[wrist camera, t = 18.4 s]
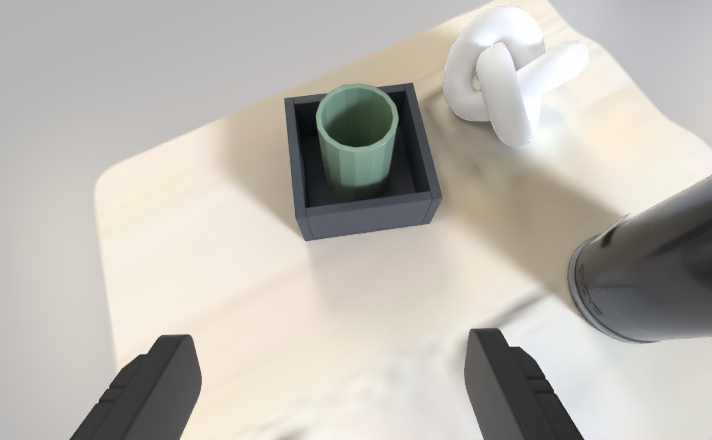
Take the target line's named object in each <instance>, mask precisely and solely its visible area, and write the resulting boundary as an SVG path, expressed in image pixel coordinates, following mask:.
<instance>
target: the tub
mask: <svg viewBox="0 0 712 440" xmlns="http://www.w3.org/2000/svg"><path fill="white" fill-rule="evenodd" d="M376 88H378V89H379V90H381V91H383V92H384V93H386V94H387V95H388V96H389V97H390V99H391V100H392V101H393V102H394V104H395V105H396V109H397V113H398V117H399V120H398V126H397V132H396V138H395V144H394V150H393V156H392V162H391V168H390V174H389V178H388V182H387V185H386V187H385V189H384V191H383V192H382V193H381V194H380V195H379V196H378V197H376V198H375V199H368V200H361V201H354V202H346V201H344V200H341V199H340V198H338V197H337V196H335V195H334V194H333V193H332V191H331V190H330V188H329V186H328V184H327V181H326V176H325V170H324V164H323V158H322V152H321V147H320V141H319V135H318V129H317V121H316V113H317V110H318V107H319V104H320V102H321V101H322V100H323V99H324V98H325V97H326V96H327V95H328V94H329V93H326V94H318V95H310V96H301V97H294V98H293V97H292V98H285V99H284V101H285V111H286V122H287V132H288V142H289V153H290V163H291V174H292V184H293V195H294V205H295V216H296V220H297V222H298V225H299V227H300V230H301V232H302V234H303V237H304V239H305V241H309V240H316V239H323V238H330V237H337V236H345V235H352V234H359V233H366V232H373V231H380V230H387V229H394V228H401V227H408V226H415V225H422V224H429V223H430V222H431V220H432V218H433V216H434V214H435V212H436V210H437V208H438V206H439V204H440V202H441V200H442V195H441V191H440V187H439V183H438V179H437V176H436V172H435V168H434V164H433V160H432V156H431V152H430V148H429V144H428V141H427V137H426V133H425V129H424V125H423V121H422V117H421V113H420V109H419V106H418V102H417V98H416V94H415V90H414V86H413V83H407V84H400V85H392V86H383V87H376Z"/></svg>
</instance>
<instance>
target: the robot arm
mask: <svg viewBox="0 0 712 440" xmlns="http://www.w3.org/2000/svg"><path fill="white" fill-rule="evenodd" d="M629 214H630V213H629ZM627 215H628V214H627ZM627 215H625V216H623V217H622V218H620V219H619V220H618V221H617V222H615V223H614V224H613V225H612V226H611V227H609V228H608V229H607V230H606V231H605V232H603V233H602V234H599V235H596V236H594V237H592V238H590V239H589V240H587V241H585V242H584V243H583V244H581V245H580V246H579V247H578V248H577V249H576V251H575V252H574V254H573V256H572V258H571V260H570V263H569V268H568V283H569V288H570V291H571V294H572V297H573V299H574V301H575V303H576V305H577V307H578V308H579V310H580V311H581V313H582V314H583V315H584V316H585V318H586V319H587V320H588V321H589V322H590V323H591V324H592V325H594V326H595V327H596V328H597V329H599V330H600V331H602V332H603V333H605V334H607V335H608V336H610V337H612V338H615V339H617V340H620V341H624V342H629V343H652V342H658V341H662V340H673V339H688V338H700V337H712V175H711V176H709V177H707V178H705V179H703V180H702V181H700V182H698V183H696V184H694V185H692V186H690V187H689V188H687V189H685V190H683V191H681V192H679V193H677V194H675V195H674V196H672V197H670V198H668V199H666V200H664V201H662V202H660V203H659V204H657V205H655V206H653V207H651V208H649V209H647V210H645V211H644V212H642V213H640V214H638V215H636V216H634V217H632V218H631V219H629V220H627V221H625V222H623V223H621V224H619V225H617V224H618V223H619V222H620V221H621V220H623V219H624V218H625V217H626V216H627ZM615 225H617V226H615ZM614 226H615V227H614ZM464 377H465V385H466V389H467V393H468V396H469V399H470V401H471V404H472V407H473V410H474V413H475V416H476V418H477V421H478V424H479V427H480V430H481V433H482V436H483V438H484V440H584V439H583V437H582V435H581V434H580V432H579V430H578V429H577V427H576V426H575V424H574V422H573V421H572V419H571V417H570V416H569V414H568V413H567V411H566V409H565V408H564V406H563V404H562V403H561V401H560V400H559V398H558V396H557V395H556V394H554V390H553V388H552V387H551V385H550V383H549V382H548V380H546V379H545V375H544V374H543V372H542V370H541V369H540V367H539V365H538V364H537V362H536V361H535V360H534V359H533V358H532V357H531V356H530V355H529V354H527V353H526V352H525V351H524V350H523V349H522V348H520V347H509V345H508V343H507V342H506V340H505V338H504V336H503V334H502V333H501V331H500V330H499V329H498V328H485V329H471V330H470V332H469V337H468V345H467V353H466V360H465V368H464ZM201 384H202V376H201V371H200V367H199V362H198V358H197V354H196V350H195V346H194V342H193V339H192V337H191V335H188V334H186V335H161V336H160V337H159V338H158V339H157V340H156V342H155V343H154V345H153V346H152V347H151V349H150V350H149V352H148V353H147V354H140V355H139V356H137V357H136V358H135V359H134V360H132V361H131V362H130V363H129V364H127V365H126V366H125V367H124V368H122V369H121V371H120V372H119V373H118V375H117V376H116V377H115V379H114V380H113V382H112V383H111V384H110V386H109V389H107V390H106V391H105V392H104V394H103V395H102V397H101V398H100V399H99V403H98V404H96V405H95V406H94V407H93V409H92V410H91V411H90V413H89V414H88V415H87V417H86V418H85V419H84V421H83V422H82V424H81V425H80V426H79V428H78V429H77V430H76V432H75V433H74V434H73V436H72V437H71V438H70V440H180V437H181V435H182V433H183V431H184V428H185V426H186V424H187V422H188V420H189V417H190V415H191V413H192V411H193V408H194V406H195V404H196V402H197V400H198V397H199V394H200V390H201Z"/></svg>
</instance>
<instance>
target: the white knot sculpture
mask: <svg viewBox="0 0 712 440" xmlns="http://www.w3.org/2000/svg"><path fill="white" fill-rule="evenodd" d="M498 42H502V43H504V44H505V45H506V46H507V49H508V50H507V49H505V48H502V47H501V46H493V47H490V46H492V45H493V44H495V43H498ZM588 59H589V51H588V49H587V47H586V45H584V44H582V43H580V42H578V41H570V42H565V43H562V44H559V45H557V46H554V47H552V48H549V49H546V50H545V48H544V40H543V35H542V32H541V30H540V27H539V26H538V24H537V22H536V21H535V19H534V18H533V17H532V15H530V14H529V13H528V12H527V11H526V10H524V9H522V8H520V7H517V6H512V5H503V6H497V7H494V8H491V9H488V10H486V11H485V12H483V13H481V14H480V15H478V16H477V17H475V18H474V19H473V20H472V21H471V22H470V23H469V24H468V25H467V26H466V27H465V28H464V29H463V31H462V32H461V33H460V34H459V36H458V37H457V39H456V41H455V42H454V44H453V46H452V47H451V50H450V52H449V55H448V57H447V59H446V63H445V67H444V71H443V81H442V85H443V93H444V97H445V100H446V102H447V104H448V106H449V107H450V109H451V110H452V111H453V112H454V113H455V114H456V115H457V116H459V117H460V118H462V119H464V120H467V121H489V120H490V121H491V124H492V126H493V129H494V131H495V133H496V135H497V137H498V138H499V139H500V140H501V141H502V142H503V143H505V144H506V145H507V146H510V147H521V146H523V145H525V144H527V143H529V142H530V140H531V139H532V138H533V136H534V135H535V133H536V130H537V126H538V120H539V113H540V104H541V95H543V94H545V93H547V92H549V91H551V90H552V89H554V88H556V87H558V86H560V85H562V84H563V83H565V82H567V81H569V80H570V79H572V78H574V77H575V76H577V75H578V74H580V73H581V72H582V70H583V69H584V68H585V66H586V65H587V63H588ZM475 66H476V72H477V78H478V81H479V83H480V87H481V90H480V91H477V90H475V89H474V88H473V85H472V77H473V72H474V69H475Z"/></svg>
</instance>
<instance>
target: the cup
mask: <svg viewBox="0 0 712 440" xmlns="http://www.w3.org/2000/svg"><path fill="white" fill-rule="evenodd" d="M398 120H399V117H398V113H397V109H396V105H395V104H394V102H393V101H392V100H391V99H390V97H389V96H388V95H387V94H386V93H384V92H383V91H381V90H379V89H378V88H376V87H374V86H369V85H364V84H352V85H344V86H341V87H339V88H337V89H335V90H333V91H331V92H330V93H329V94H328V95H327V96H326V97H325V98H324V99H323V100H322V101H321V102H320V104H319V107H318V110H317V113H316V121H317V129H318V135H319V141H320V147H321V152H322V158H323V164H324V170H325V176H326V181H327V184H328V186H329V188H330V190H331V191H332V193H333V194H334V195H335V196H337V197H338V198H340V199H341V200H344V201H346V202H354V201H361V200H368V199H375V198H376V197H378V196H379V195H380V194H381V193H382V192H383V191H384V189H385V187H386V185H387V182H388V178H389V174H390V168H391V162H392V156H393V150H394V144H395V138H396V132H397V126H398Z"/></svg>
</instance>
